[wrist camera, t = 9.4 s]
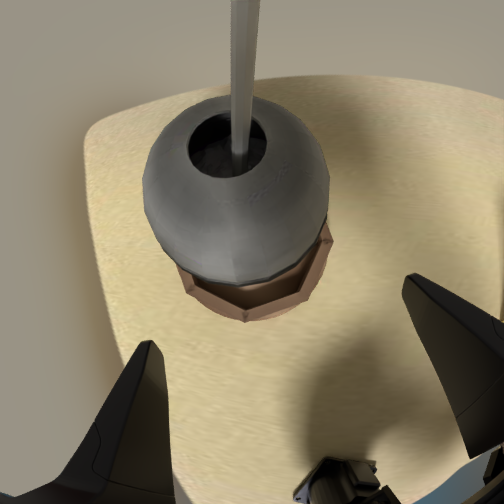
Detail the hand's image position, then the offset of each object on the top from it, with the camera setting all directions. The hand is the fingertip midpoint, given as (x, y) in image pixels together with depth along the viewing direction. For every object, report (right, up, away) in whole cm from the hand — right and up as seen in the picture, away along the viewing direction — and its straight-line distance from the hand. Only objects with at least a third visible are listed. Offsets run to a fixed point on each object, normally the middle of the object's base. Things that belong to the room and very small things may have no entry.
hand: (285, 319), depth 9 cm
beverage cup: (-1, +3, +13) cm, 14 cm away
